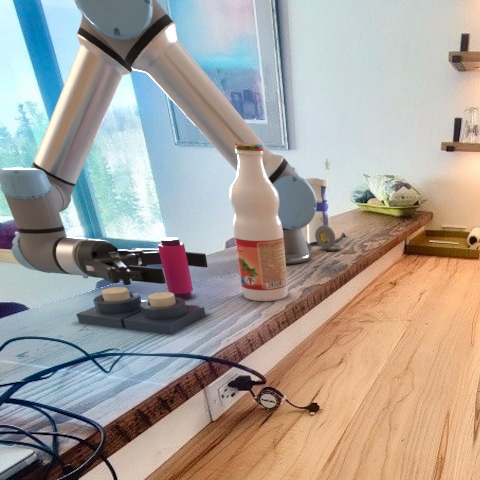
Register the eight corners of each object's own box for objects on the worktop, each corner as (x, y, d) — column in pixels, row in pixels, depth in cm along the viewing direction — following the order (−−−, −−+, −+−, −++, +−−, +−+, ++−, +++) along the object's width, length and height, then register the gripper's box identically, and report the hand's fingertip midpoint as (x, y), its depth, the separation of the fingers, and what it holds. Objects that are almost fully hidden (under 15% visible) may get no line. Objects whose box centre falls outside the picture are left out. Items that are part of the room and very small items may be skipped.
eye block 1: (122, 305, 82) (117, 287, 80) (162, 310, 80) (157, 292, 79) (79, 323, 73) (72, 303, 71) (123, 328, 72) (117, 308, 70)
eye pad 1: (116, 295, 77) (113, 285, 76) (135, 297, 77) (133, 288, 76) (98, 301, 74) (95, 292, 73) (119, 304, 73) (116, 294, 72)
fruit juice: (287, 302, 88) (273, 145, 74) (240, 302, 86) (216, 142, 72) (289, 289, 96) (277, 145, 82) (246, 289, 94) (225, 142, 80)
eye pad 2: (160, 300, 76) (158, 290, 75) (181, 302, 75) (179, 293, 74) (145, 307, 73) (142, 297, 72) (166, 309, 72) (164, 299, 71)
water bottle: (317, 239, 149) (313, 157, 136) (336, 242, 145) (334, 158, 132) (300, 242, 142) (295, 156, 130) (320, 246, 139) (316, 158, 126)
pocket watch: (340, 247, 139) (339, 214, 134) (343, 252, 132) (342, 218, 127) (314, 247, 137) (313, 213, 132) (316, 252, 130) (315, 217, 125)
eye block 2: (164, 310, 80) (160, 292, 79) (205, 315, 79) (202, 297, 77) (125, 329, 72) (119, 309, 70) (171, 334, 71) (166, 314, 69)
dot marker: (179, 293, 90) (166, 236, 84) (199, 295, 89) (187, 237, 83) (165, 299, 86) (150, 239, 80) (185, 302, 85) (172, 242, 79)
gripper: (139, 263, 99) (223, 272, 96) (43, 293, 78) (146, 305, 75) (130, 229, 96) (217, 237, 93) (27, 250, 74) (135, 261, 71)
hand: (185, 267), depth 84 cm, fingers open, 13 cm apart
